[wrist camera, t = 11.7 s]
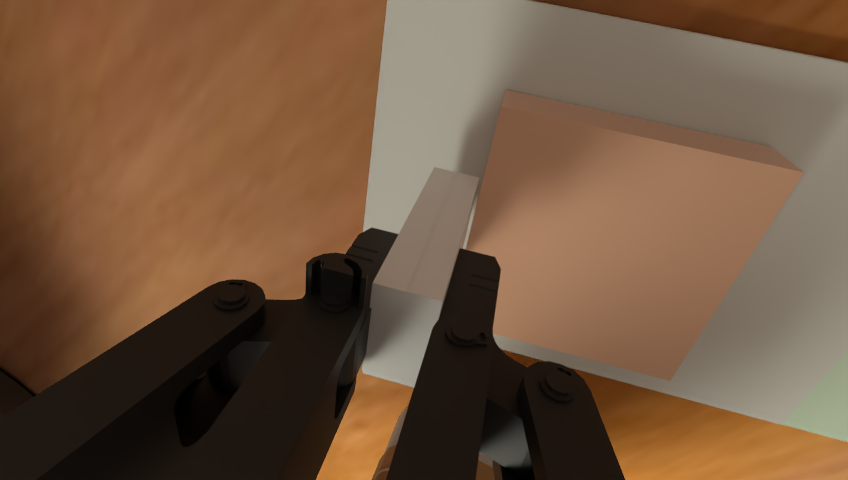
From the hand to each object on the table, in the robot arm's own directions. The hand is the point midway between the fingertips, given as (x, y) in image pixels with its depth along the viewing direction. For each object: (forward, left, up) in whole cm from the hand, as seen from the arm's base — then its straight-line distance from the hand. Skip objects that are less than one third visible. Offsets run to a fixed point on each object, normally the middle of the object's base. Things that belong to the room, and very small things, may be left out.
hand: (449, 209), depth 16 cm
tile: (+1, 0, 0) cm, 1 cm away
